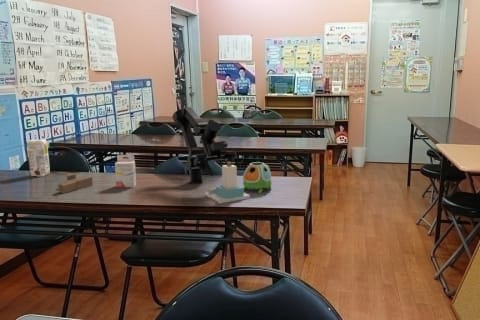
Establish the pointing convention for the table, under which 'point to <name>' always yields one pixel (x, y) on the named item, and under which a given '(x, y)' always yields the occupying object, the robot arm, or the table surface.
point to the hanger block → (229, 176)
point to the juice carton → (38, 157)
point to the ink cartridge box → (125, 171)
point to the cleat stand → (226, 194)
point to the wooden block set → (75, 183)
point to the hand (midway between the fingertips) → (221, 174)
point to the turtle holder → (257, 176)
